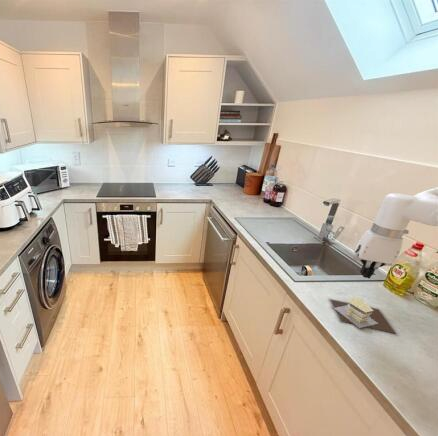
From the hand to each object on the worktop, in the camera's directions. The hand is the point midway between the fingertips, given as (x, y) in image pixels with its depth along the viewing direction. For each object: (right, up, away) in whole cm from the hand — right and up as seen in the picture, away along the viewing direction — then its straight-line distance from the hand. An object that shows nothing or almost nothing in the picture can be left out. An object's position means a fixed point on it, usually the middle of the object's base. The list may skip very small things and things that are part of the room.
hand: (365, 275), depth 85 cm
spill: (+4, -17, +6) cm, 18 cm away
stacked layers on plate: (+1, -17, +6) cm, 18 cm away
